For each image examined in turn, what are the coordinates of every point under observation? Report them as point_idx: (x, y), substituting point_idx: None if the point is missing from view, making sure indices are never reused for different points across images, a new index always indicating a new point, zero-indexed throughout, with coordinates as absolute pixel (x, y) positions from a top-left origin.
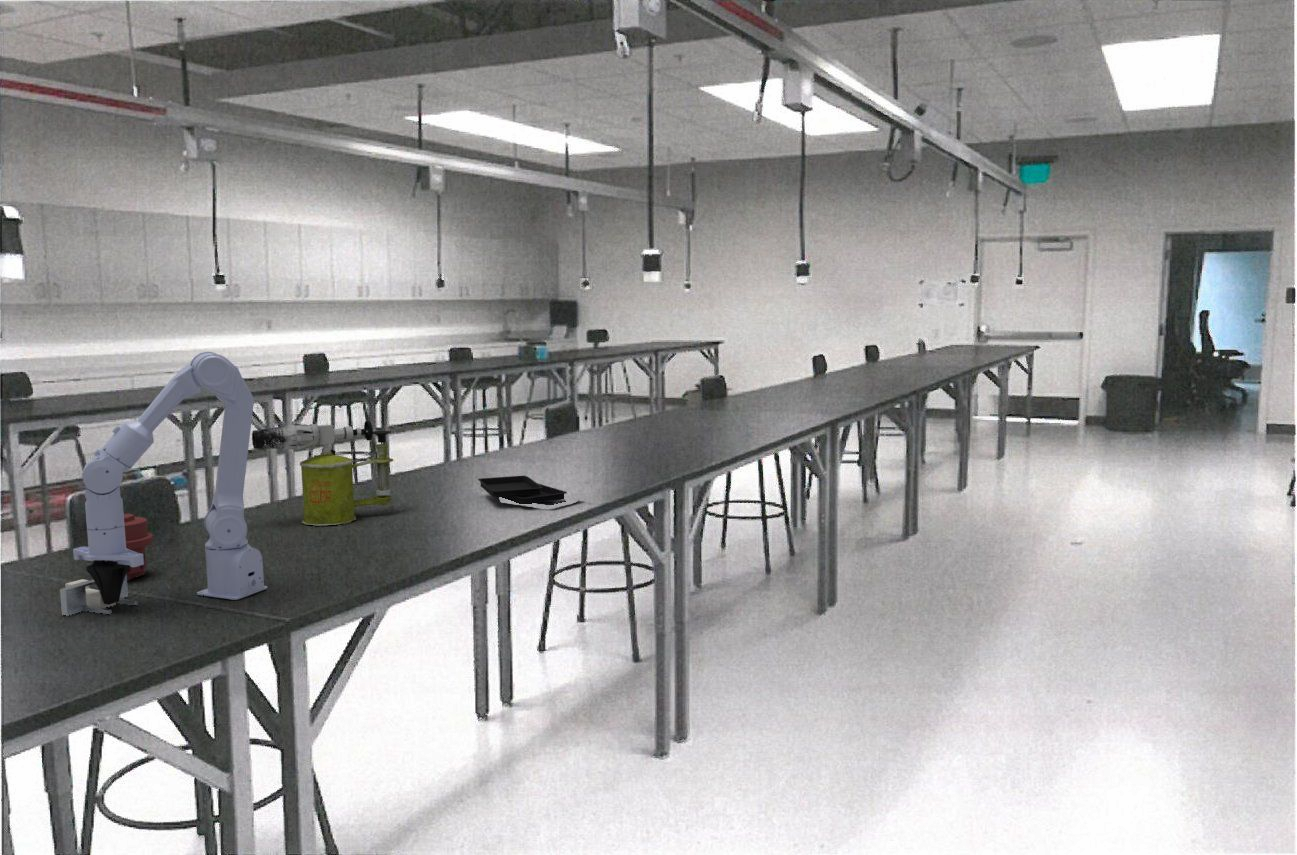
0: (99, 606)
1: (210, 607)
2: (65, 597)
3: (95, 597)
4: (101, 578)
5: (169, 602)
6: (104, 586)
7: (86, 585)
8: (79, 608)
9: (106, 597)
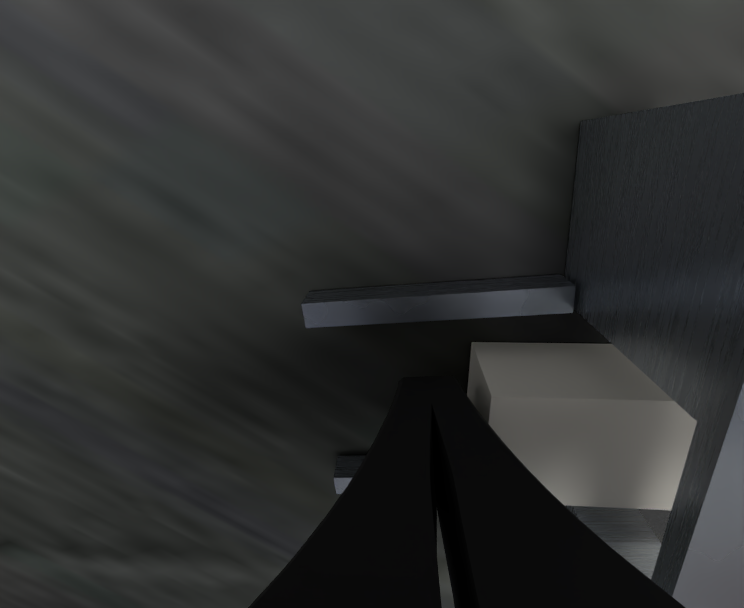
0: (488, 352)
1: (16, 550)
2: (730, 95)
3: (552, 392)
4: (402, 581)
5: (245, 544)
6: (397, 480)
7: (699, 443)
8: (584, 246)
9: (401, 402)
